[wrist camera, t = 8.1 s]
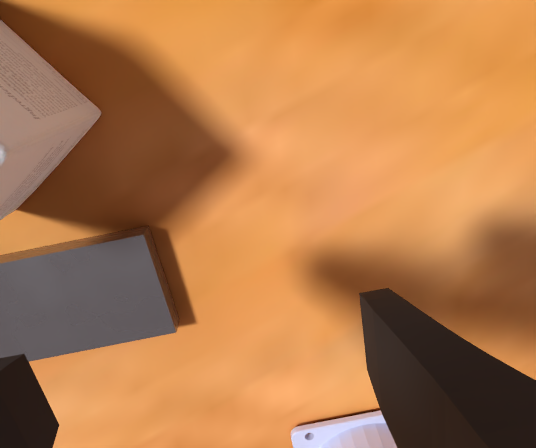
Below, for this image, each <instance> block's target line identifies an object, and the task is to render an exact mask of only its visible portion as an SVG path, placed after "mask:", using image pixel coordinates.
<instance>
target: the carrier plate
mask: <svg viewBox="0 0 536 448" xmlns="http://www.w3.org/2000/svg"><path fill="white" fill-rule="evenodd" d="M178 323H179V317H178V314H177V311H176V308H175V305H174V302H173V299H172V296H171V293H170V290H169V287H168V284H167V281H166V277H165V274H164V271H163V268H162V265H161V262H160V259H159V256H158V253H157V250H156V247H155V244H154V241H153V238H152V235H151V232H150V229H149V226H144V227H139V228H134V229H130V230H125V231H120V232H115V233H110V234H105V235H100V236H95V237H90V238H85V239H80V240H75V241H70V242H65V243H60V244H55V245H50V246H45V247H40V248H35V249H30V250H25V251H20V252H15V253H10V254H5V255H0V358H4V357H9V356H15V355H20V354H25V356H26V358H27V360H28V362H29V361H34V360H39V359H44V358H49V357H54V356H59V355H64V354H69V353H74V352H79V351H84V350H90V349H95V348H100V347H105V346H110V345H115V344H120V343H125V342H130V341H135V340H140V339H145V338H150V337H155V336H161V335H166V334H171V333H176V332H177V327H178Z"/></svg>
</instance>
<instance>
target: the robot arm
mask: <svg viewBox="0 0 536 448" xmlns="http://www.w3.org/2000/svg"><path fill="white" fill-rule="evenodd" d="M359 295H360V305H361V314H362V324H363V334H364V343H365V353H366V363H367V371H368V374H369V377H370V380H371V383H372V386H373V389H374V392H375V395H376V398H377V401H378V404H379V407H380V411H375V412H369V413H364V414H359V415H354V416H349V417H344V418H338V419H333V420H328V421H323V422H318V423H312V424H307V425H302V426H297V427H295V428H294V429H292V431H291V440H292V444H293V448H536V380H534V379H532V378H530V377H528V376H527V375H525V374H523V373H521V372H519V371H517V370H516V369H514V368H512V367H510V366H509V365H507V364H505V363H503V362H502V361H500V360H498V359H496V358H495V357H493V356H491V355H489V354H487V353H486V352H484V351H482V350H481V349H479V348H478V347H476V346H474V345H473V344H471V343H469V342H468V341H466V340H464V339H463V338H461V337H460V336H458V335H457V334H455V333H453V332H452V331H450V330H449V329H447V328H446V327H444V326H443V325H441V324H440V323H438V322H437V321H435V320H434V319H432V318H431V317H429V316H428V315H426V314H425V313H423V312H422V311H420V310H419V309H418V308H416V307H415V306H413V305H412V304H410V303H409V302H407V301H406V300H405V299H403V298H402V297H400V296H399V295H397V294H396V293H395V292H393V291H392V290H390V289H389V288H386V289H380V290H375V291H369V292H363V293H359ZM58 427H59V424H58V422H57V420H56V417H55V415H54V413H53V411H52V409H51V407H50V405H49V403H48V401H47V399H46V397H45V395H44V393H43V391H42V389H41V387H40V385H39V383H38V381H37V379H36V376H35V374H34V372H33V370H32V368H31V366H30V364H29V362H28V360H27V358H26V356H25V354H20V355H15V356H9V357H4V358H0V448H53V444H54V441H55V437H56V434H57V430H58ZM307 433H310V434H307Z"/></svg>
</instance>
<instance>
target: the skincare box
mask: <svg viewBox="0 0 536 448" xmlns="http://www.w3.org/2000/svg"><path fill="white" fill-rule="evenodd" d="M100 116H101V111H100V110H99V108H98V107H97V106H95V105H94V104H93V103H92V102H91V101H90V100H89V99H87V98H86V97H85V96H84V95H83V94H82V93H81V92H79V91H78V90H77V89H76V88H75V87H74V86H73V85H72V84H71V83H69V82H68V81H67V80H66V79H65V78H64V77H63V76H62V75H61V74H60V73H59V72H57V71H56V70H55V69H54V68H53V67H52V66H51V65H50V64H49V63H48V62H47V61H45V60H44V59H43V58H42V57H41V56H40V55H39V54H38V53H37V52H36V51H34V50H33V49H32V48H31V47H30V46H29V45H28V44H27V43H26V42H25V41H24V40H23V39H21V38H20V37H19V36H18V35H17V34H16V33H15V32H14V31H12V30H11V29H10V28H9V27H8V26H7V25H6V24H5V23H4V22H3V21H2V20H0V220H1V219H3V218H4V217H5V216H7V215H8V214H10V213H12V212H13V211H15V210H16V209H17V208H18V207H19V206H20V205H21V204H22V203H23V202H24V201H25V200H26V199H27V198H28V197H29V196H30V195H31V194H32V193H33V192H34V191H35V190H36V189H37V188H38V187H39V185H40V184H41V183H42V182H43V181H44V180H45V179H46V178H47V177H48V176H49V175H50V173H51V172H52V171H53V170H54V169H55V168H56V167H57V166H58V165H59V164H60V162H61V161H62V160H63V159H64V158H65V157H66V156H67V155H68V153H69V152H70V151H71V150H72V149H73V148H74V147H75V145H76V144H77V143H78V142H79V141H80V140H81V139H82V137H83V136H84V135H85V134H86V133H87V132H88V130H89V129H90V128H91V127H92V126H93V124H94V123H95V122H96V121H97V120H98V118H99V117H100Z"/></svg>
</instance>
